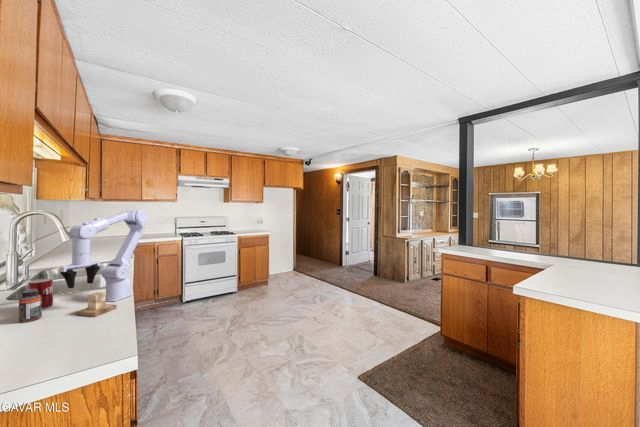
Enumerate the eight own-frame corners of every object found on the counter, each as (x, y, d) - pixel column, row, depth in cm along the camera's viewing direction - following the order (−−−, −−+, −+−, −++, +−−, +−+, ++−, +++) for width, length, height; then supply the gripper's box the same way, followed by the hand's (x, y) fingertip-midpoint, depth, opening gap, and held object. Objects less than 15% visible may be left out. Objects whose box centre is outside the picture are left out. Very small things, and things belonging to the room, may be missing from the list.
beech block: (97, 305, 112) (97, 291, 112) (105, 306, 112) (105, 292, 112) (87, 309, 108) (87, 294, 108) (95, 310, 108) (95, 295, 108)
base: (98, 307, 115) (98, 303, 115) (116, 308, 114) (116, 304, 114) (76, 315, 106) (76, 311, 106) (95, 316, 105) (95, 312, 105)
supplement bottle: (16, 320, 101) (16, 291, 101) (38, 315, 106) (38, 287, 106) (22, 324, 98) (21, 293, 98) (44, 318, 103) (43, 289, 103)
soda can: (53, 303, 119) (52, 277, 119) (53, 308, 114) (52, 280, 113) (29, 308, 114) (28, 280, 114) (27, 312, 109) (27, 283, 108)
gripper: (91, 250, 120) (90, 280, 120) (53, 255, 105) (53, 289, 105) (104, 251, 118) (103, 281, 118) (68, 256, 104) (67, 290, 104)
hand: (80, 285), depth 112 cm, fingers open, 7 cm apart
